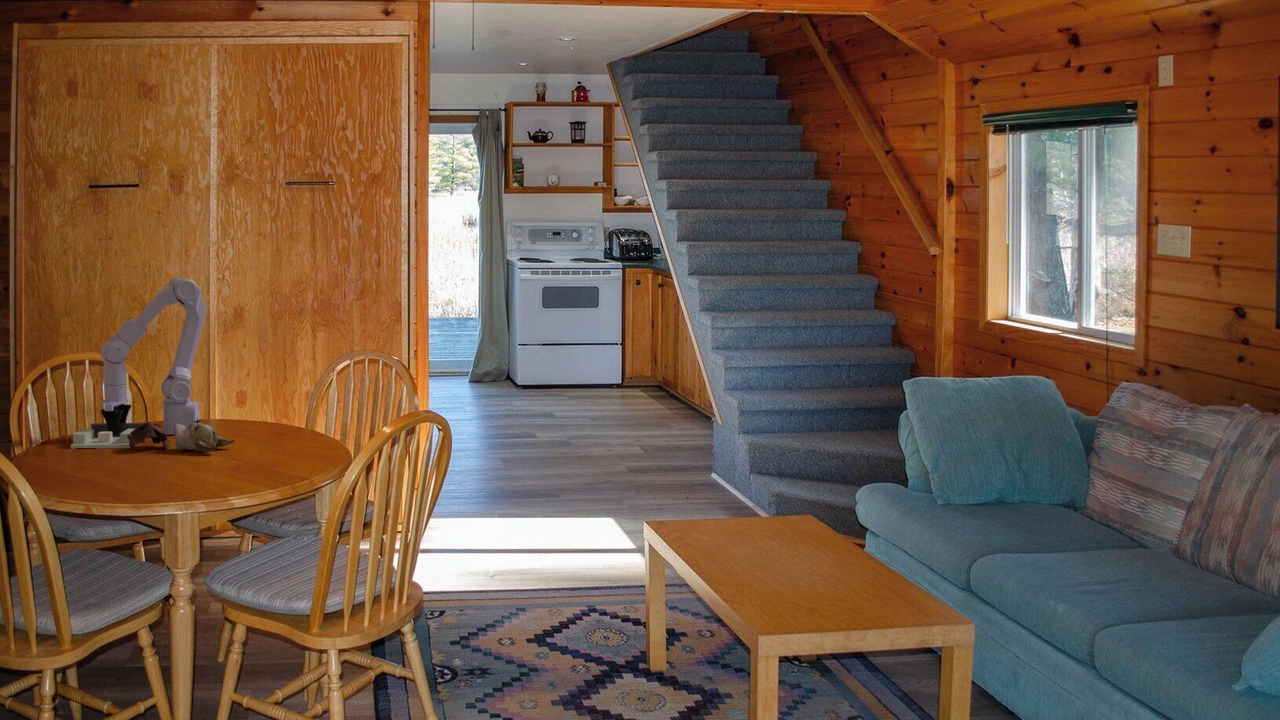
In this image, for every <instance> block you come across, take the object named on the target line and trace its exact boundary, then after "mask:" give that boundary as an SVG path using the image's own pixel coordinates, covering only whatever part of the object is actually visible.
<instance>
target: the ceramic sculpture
mask: <svg viewBox="0 0 1280 720" xmlns="http://www.w3.org/2000/svg"><path fill="white" fill-rule="evenodd" d="M202 422H203V421H202V420H201V419H200V420H197V421H193V422H192V423H190V425H189V426H184V425H181V424H177V423H174V435H173V437H174V438H173V439H174V440H175V447H176V449H177V450H178V451H180V452H181V451H186V450H188V449H190V450H194V451H195V452H199V453H200V452H201V453H203V452H204V453H211V452H213V451H215V450H218V448H221V447H226V446H228V445H231V444H233V443H235V442H236V440H233V439H231V440H228V439H226V438H224V437H223V436H219V435H218V432H217V430H216V428H215V427H214V426H213V425H211V424H203V423H202Z"/></svg>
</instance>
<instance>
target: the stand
mask: <svg viewBox="0 0 1280 720" xmlns="http://www.w3.org/2000/svg"><path fill="white" fill-rule="evenodd" d="M133 430H134V429H127V430H125V431H124V432H122V433H121V434H120V437H112V432H99V433H98V437H94V429H91V428H82V429H80V430H78V431H76V432H74V433H73V434H72V444H70V449H72V450H76V448H96V449H131V448H130V446H129V439H128V438H127V436H128V435H129V434H130V432H132V431H133ZM130 435H131V434H130ZM131 436H132V435H131Z"/></svg>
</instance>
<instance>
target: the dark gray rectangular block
mask: <svg viewBox="0 0 1280 720" xmlns="http://www.w3.org/2000/svg"><path fill="white" fill-rule="evenodd" d="M144 423H145V422H126V423H120V428H119V433H118V435H112V437H120V434H121V433H122V432H124V431H125V430H127V429H136V428H137V427H138V426H140V425H142V424H144ZM90 429H94V437H98V433H99V432H109V431H108V427H107V423H106V422H103V423H102V422H97V423H96V422H95V423H91V424H90Z"/></svg>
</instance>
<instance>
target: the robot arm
mask: <svg viewBox="0 0 1280 720" xmlns="http://www.w3.org/2000/svg"><path fill="white" fill-rule="evenodd" d="M178 303H179V304H180V306H181V307H182V309H183V310H184V311H185V313H186V314H185V317H184V318H185V319H184V321H183V322H184V323H183V326H182V329H181V333H180V336H179V341H178V345H177V348H176V351H175V355H174V358H173V361H172V362H173V363H172V365H171V367H170V369H169V371H168V373H167V376H166V378H165V379H164V380H163V382H162V383H161V385H160V387H161V389H160V390H161V393H162V394H163V395H164V399H162V404H163V405H162V407H163V409H162V411H163V431H164V432H165V434H166V436H167V435H169V436H170V435H171V436H172V435H173V436H174V423H177V424H181V425H184V426H189V425H190V423H192V422H193V421H197V420H201V419H200V418H201V417H200V406H199V402H197V401H191V398H190V397H191V395H192V386H191V381H192V368H193V367H192V366H193V363H194V360H195V356H196V353H197V348H198V346H199V340H200V337H201V334H202V330H203V326H204V322H205V318H206V315H207V307H206V305H205V300H204V298H203V295H202V289H201V288H200V286H199V285H198V284H197V283H196V282H195V281H194V280H193V279H190V278H186V277H185V278H184V277H183V276H182V277H181V276H178V277H174V278H172V279H171V280H169V282H168V284H166V285H164V286H163V287H162V288H161V289H160V290H159V292H158V293H157V294H156V295H155V296H154V297H153V298H152V300H151V301H150V302H149V303H148V304H147V305H146V306H145V308H144V309H143V310H142V311H141V312H140V313H139V315H138V316H137V317H136V318H132V319H131V318H130V319H128V320H127V321H125V320H124V321H123V322H122V323H121V325H122V327H120V329H119V330H117V332H116V333H115V334H113V335H110V336H109V339H110V340H108V341H106V342H104V343H103V345H102V346H101V350H100V351H99V353H100V356H101V357H102V359H103V393H104V399H101V400H100V404H104V406H103V407H104V408H103V409H101V410H100V414H101V416H102V417H103V419H104V421H105V423H107V427H108V431H109V432H112V435H118V433H119V428H120V423H127V419H128V416H129V412H130V410H131V408H132V404H129V400H128V390H127V368H126V359H127V358H128V354H129V351H130V350H132V348H134V347H135V346H136V345H137V344H138V343H139V341H140V340H141V339H142V338H143V337H144V335H146V334H147V326H148V325H149V323H150V322H152V321H153V320H154V319H155V318H156V317H157V316H158V315H159V314H160V313H161V311H163V310H164V309H166V307H167V306H171V305H174V304H178ZM127 403H128V404H127Z"/></svg>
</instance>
